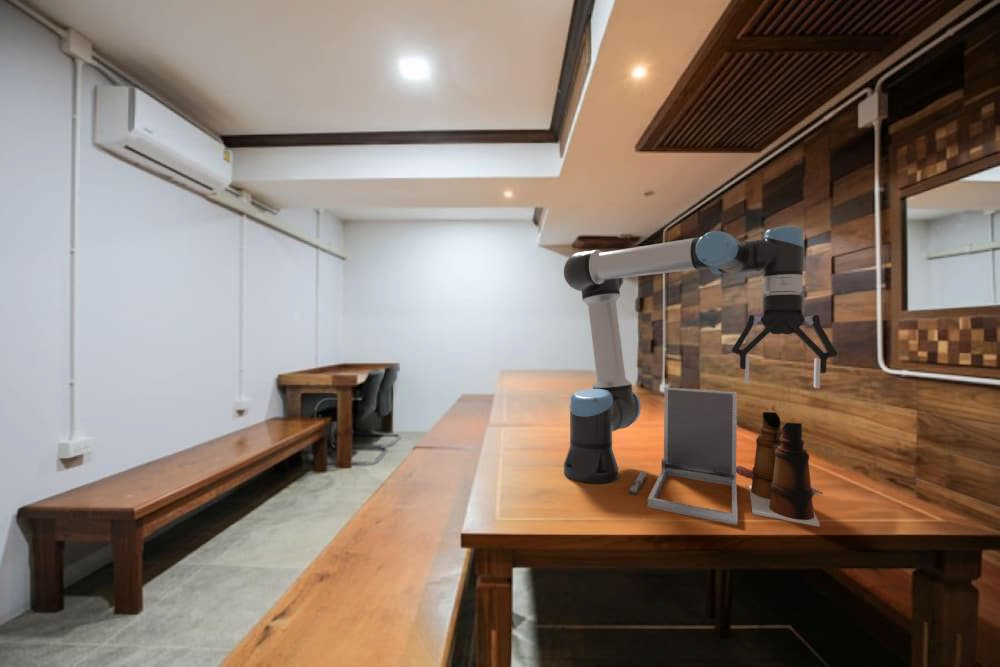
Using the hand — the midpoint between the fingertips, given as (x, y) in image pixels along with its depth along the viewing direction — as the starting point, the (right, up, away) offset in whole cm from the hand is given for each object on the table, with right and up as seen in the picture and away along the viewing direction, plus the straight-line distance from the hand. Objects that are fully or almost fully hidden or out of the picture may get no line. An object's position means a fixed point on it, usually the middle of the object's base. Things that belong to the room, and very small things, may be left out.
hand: (780, 385), depth 97 cm
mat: (0, -28, 0) cm, 28 cm away
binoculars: (0, -28, 0) cm, 28 cm away
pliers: (+8, -29, +15) cm, 34 cm away
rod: (-29, -28, +12) cm, 42 cm away
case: (-18, -28, +5) cm, 34 cm away
